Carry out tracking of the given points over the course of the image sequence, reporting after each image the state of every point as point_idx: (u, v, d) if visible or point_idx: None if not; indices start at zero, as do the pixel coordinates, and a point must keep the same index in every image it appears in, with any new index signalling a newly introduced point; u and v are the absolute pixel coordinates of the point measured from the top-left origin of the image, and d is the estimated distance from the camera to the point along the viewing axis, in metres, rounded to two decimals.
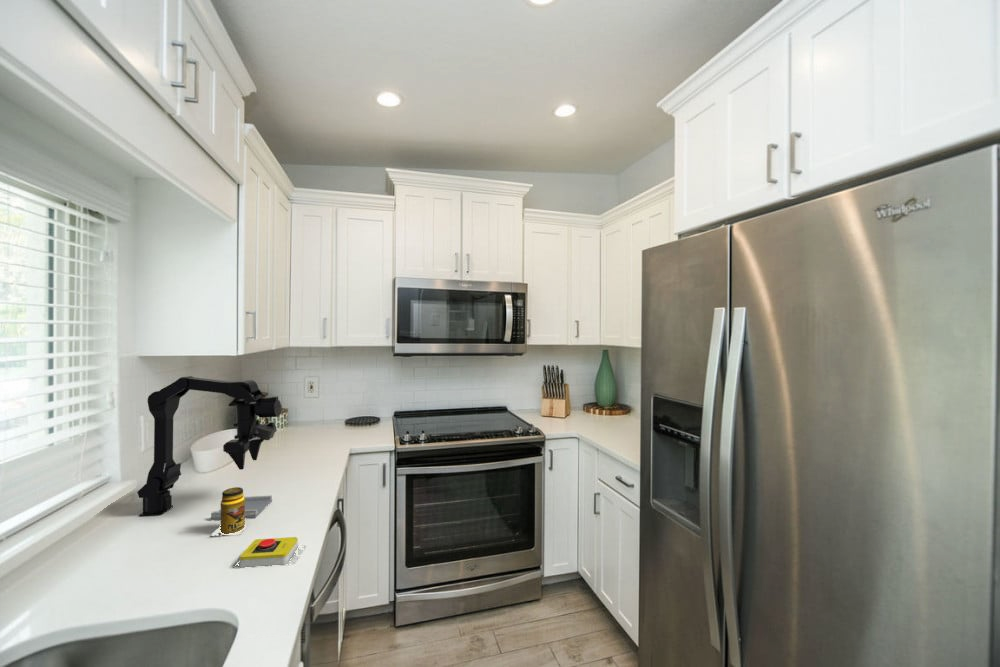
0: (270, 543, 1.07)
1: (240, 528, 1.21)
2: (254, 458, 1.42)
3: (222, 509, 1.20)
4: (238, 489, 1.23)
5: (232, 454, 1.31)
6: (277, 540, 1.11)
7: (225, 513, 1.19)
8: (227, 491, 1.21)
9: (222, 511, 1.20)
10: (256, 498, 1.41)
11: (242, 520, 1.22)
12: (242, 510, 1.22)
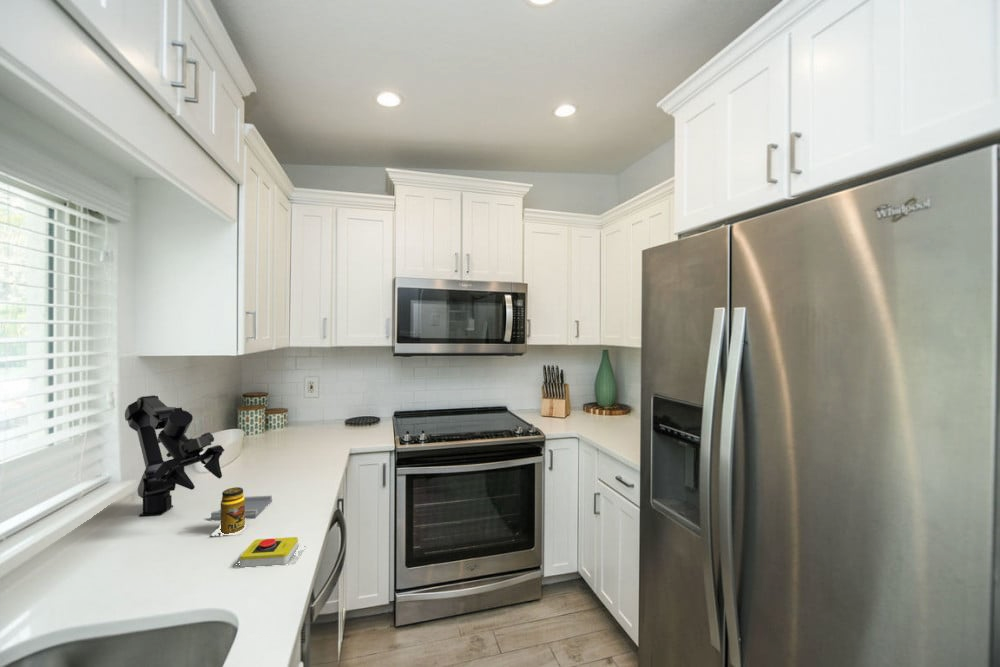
0: (270, 543, 1.07)
1: (240, 528, 1.21)
2: (219, 476, 1.28)
3: (222, 509, 1.20)
4: (238, 489, 1.23)
5: (172, 479, 1.19)
6: (277, 540, 1.11)
7: (225, 513, 1.19)
8: (227, 491, 1.21)
9: (222, 511, 1.19)
10: (256, 498, 1.41)
11: (242, 520, 1.22)
12: (242, 510, 1.22)
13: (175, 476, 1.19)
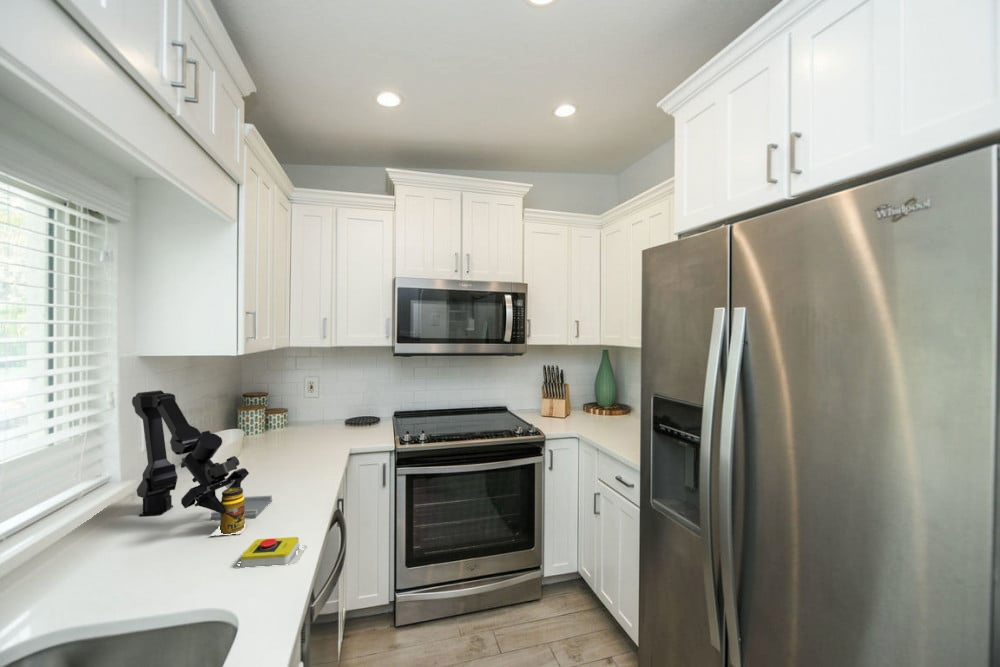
0: (271, 543, 1.07)
1: (240, 528, 1.21)
2: None
3: None
4: (238, 489, 1.23)
5: (204, 504, 1.18)
6: (278, 540, 1.11)
7: (225, 513, 1.19)
8: (227, 491, 1.21)
9: None
10: (256, 498, 1.41)
11: (242, 520, 1.22)
12: (242, 510, 1.22)
13: (206, 500, 1.19)
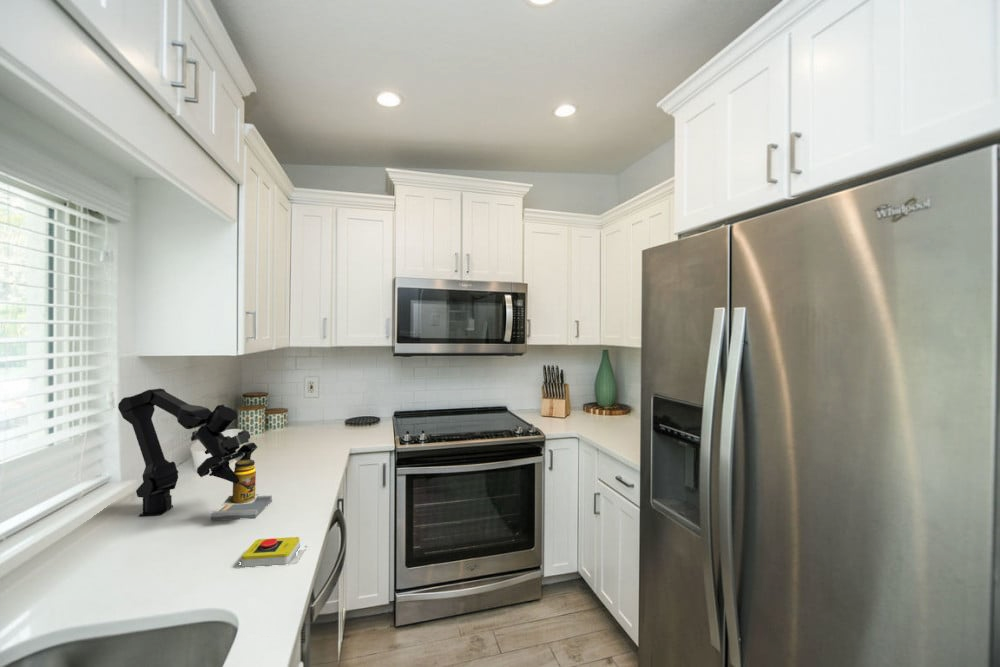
0: (272, 543, 1.07)
1: (251, 497, 1.28)
2: None
3: None
4: (250, 461, 1.29)
5: (218, 474, 1.24)
6: (279, 540, 1.11)
7: (238, 483, 1.25)
8: (240, 463, 1.27)
9: None
10: (256, 498, 1.41)
11: (253, 490, 1.28)
12: (254, 480, 1.28)
13: (220, 471, 1.24)
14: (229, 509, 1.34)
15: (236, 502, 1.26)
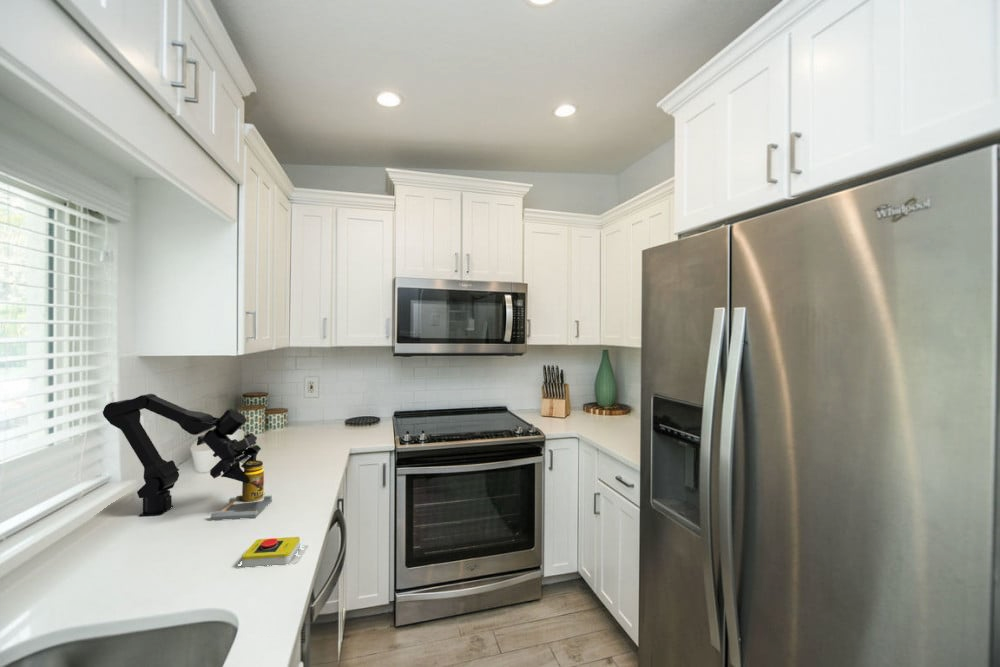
0: (272, 543, 1.07)
1: (261, 496, 1.36)
2: None
3: None
4: (258, 461, 1.37)
5: (229, 475, 1.31)
6: (279, 540, 1.11)
7: None
8: (249, 463, 1.35)
9: None
10: None
11: (262, 489, 1.36)
12: (262, 480, 1.37)
13: (231, 472, 1.31)
14: (229, 509, 1.34)
15: (247, 501, 1.33)
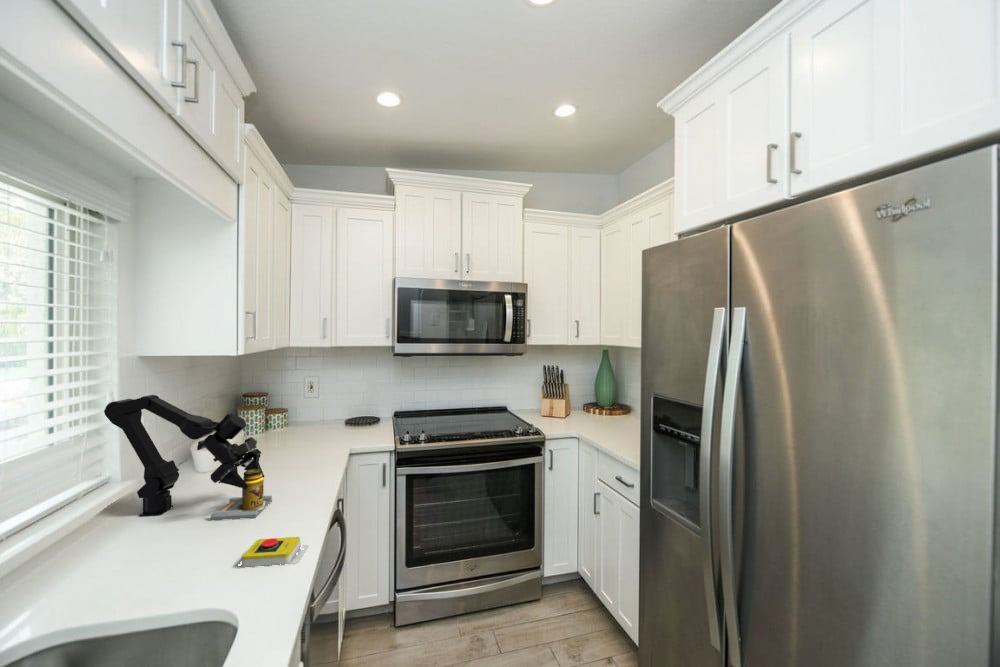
0: (273, 543, 1.07)
1: (261, 504, 1.36)
2: None
3: None
4: (257, 470, 1.37)
5: (227, 481, 1.30)
6: (279, 540, 1.11)
7: (248, 491, 1.33)
8: (248, 472, 1.35)
9: (245, 490, 1.33)
10: None
11: (262, 497, 1.36)
12: (262, 488, 1.36)
13: (229, 478, 1.30)
14: (229, 509, 1.34)
15: (247, 509, 1.33)
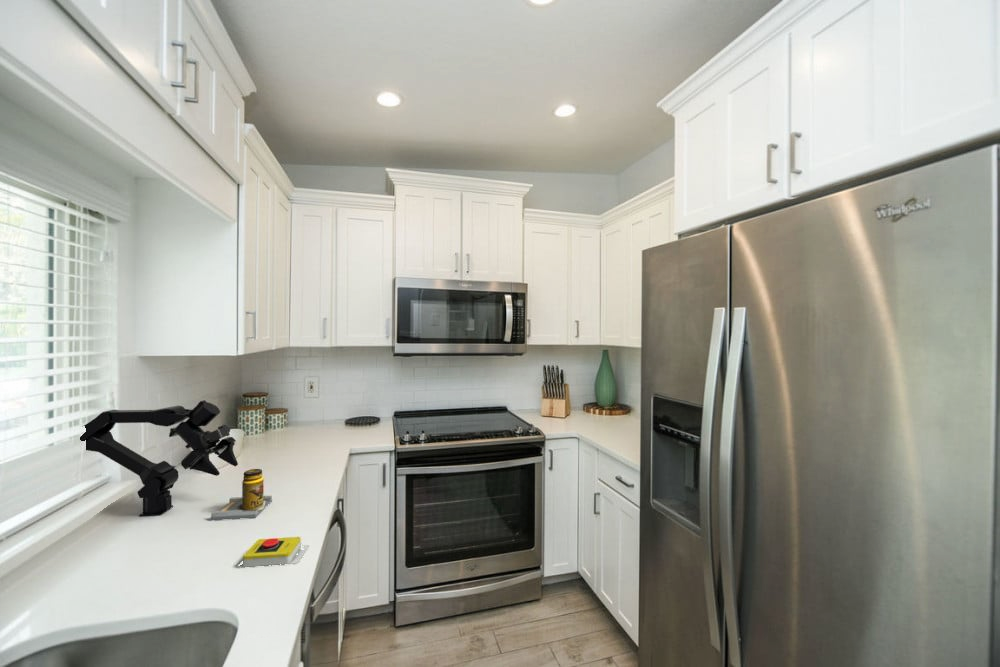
0: (273, 543, 1.07)
1: (261, 504, 1.36)
2: (235, 464, 1.40)
3: (245, 488, 1.33)
4: (257, 470, 1.37)
5: (198, 467, 1.30)
6: (280, 540, 1.11)
7: (248, 491, 1.33)
8: (248, 472, 1.35)
9: (245, 490, 1.33)
10: None
11: (262, 497, 1.36)
12: (262, 488, 1.36)
13: (200, 464, 1.30)
14: (229, 509, 1.34)
15: (247, 509, 1.33)
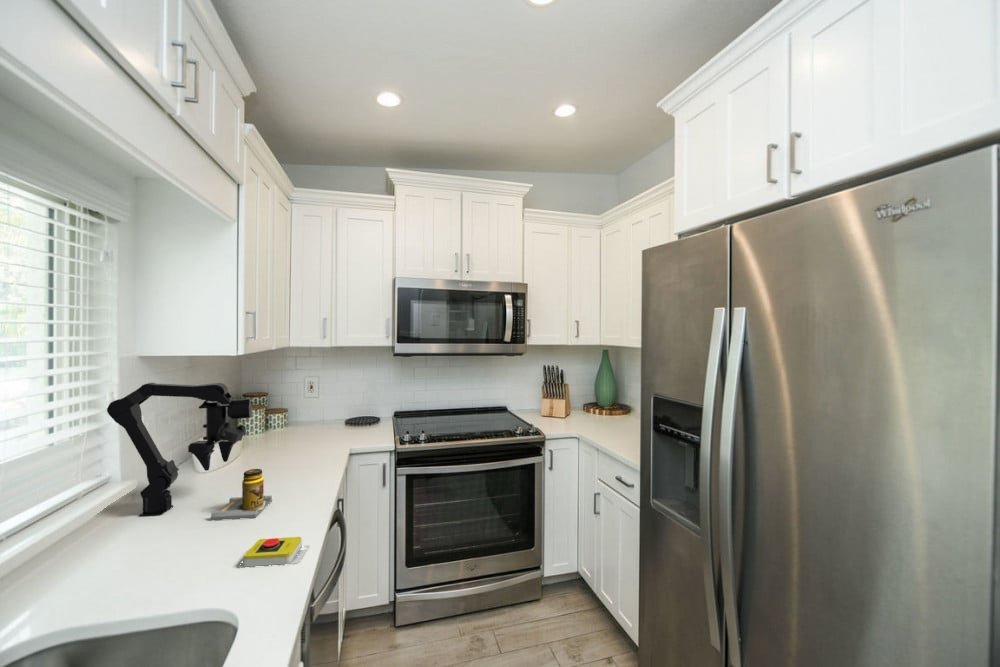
0: (274, 543, 1.07)
1: (261, 504, 1.36)
2: (225, 460, 1.45)
3: (245, 488, 1.33)
4: (257, 470, 1.37)
5: (197, 455, 1.35)
6: (281, 540, 1.11)
7: (248, 491, 1.33)
8: (248, 472, 1.35)
9: (245, 490, 1.33)
10: None
11: (262, 497, 1.36)
12: (262, 488, 1.36)
13: (201, 453, 1.35)
14: (229, 509, 1.34)
15: (247, 509, 1.33)
